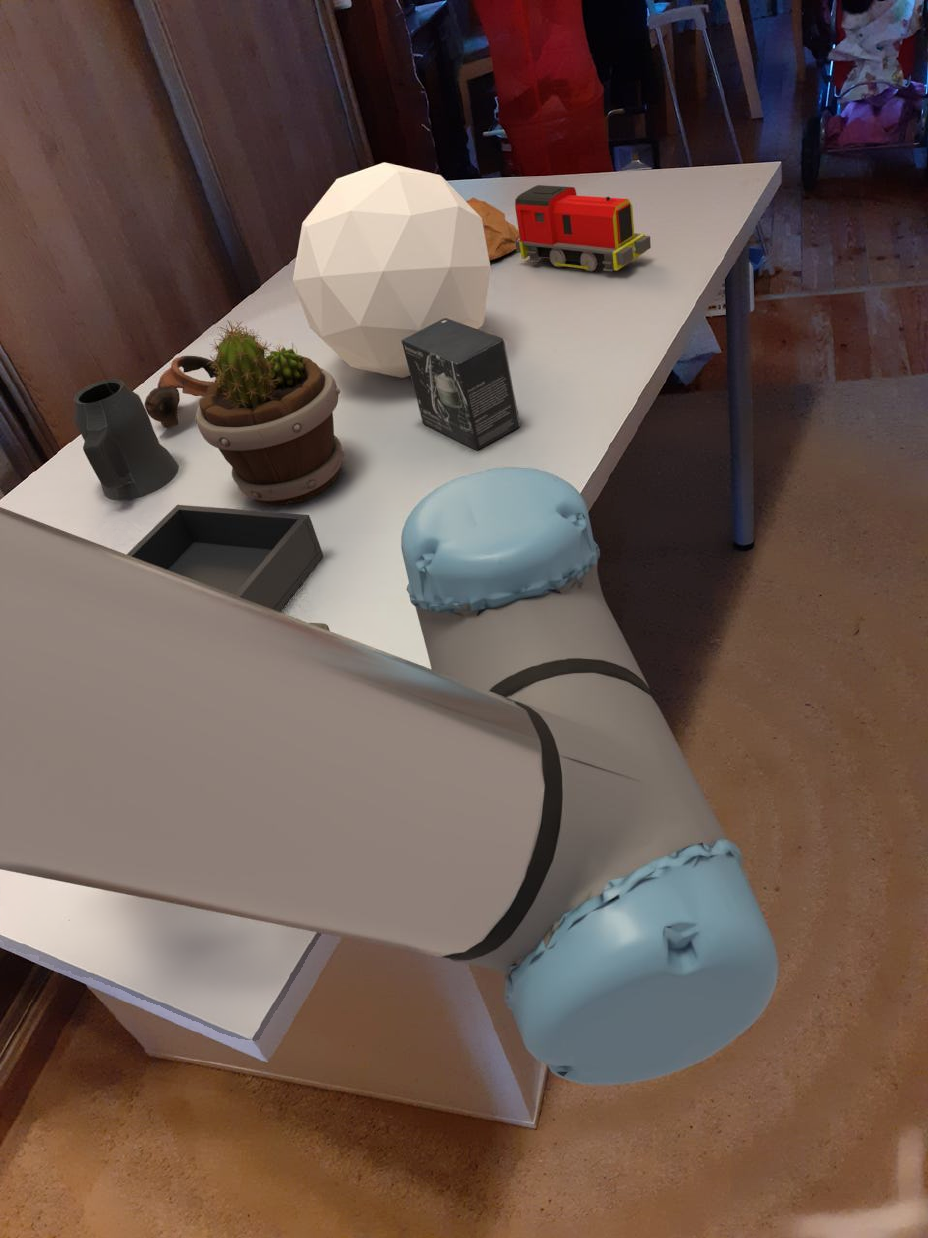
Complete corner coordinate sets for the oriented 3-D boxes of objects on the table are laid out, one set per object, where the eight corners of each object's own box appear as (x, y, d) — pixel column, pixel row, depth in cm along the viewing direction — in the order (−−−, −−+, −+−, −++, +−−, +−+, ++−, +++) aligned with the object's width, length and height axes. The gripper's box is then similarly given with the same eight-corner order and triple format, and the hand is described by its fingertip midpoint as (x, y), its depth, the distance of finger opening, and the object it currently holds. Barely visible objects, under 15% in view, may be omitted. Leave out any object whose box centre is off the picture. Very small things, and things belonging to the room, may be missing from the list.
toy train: (546, 249, 141) (537, 180, 134) (652, 261, 129) (648, 186, 123) (518, 266, 137) (507, 196, 131) (623, 280, 126) (618, 204, 119)
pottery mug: (183, 400, 124) (193, 344, 119) (239, 433, 123) (252, 378, 118) (120, 423, 114) (128, 363, 110) (180, 460, 113) (192, 401, 108)
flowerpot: (244, 456, 107) (178, 288, 94) (371, 438, 104) (320, 263, 92) (211, 528, 96) (131, 349, 83) (352, 510, 93) (292, 322, 81)
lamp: (291, 393, 104) (261, 154, 96) (339, 371, 137) (320, 191, 129) (496, 379, 102) (483, 136, 95) (495, 360, 136) (485, 178, 128)
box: (419, 425, 105) (398, 338, 98) (464, 401, 107) (446, 315, 101) (476, 453, 98) (457, 361, 91) (523, 426, 100) (507, 335, 93)
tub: (211, 700, 75) (189, 657, 72) (70, 674, 81) (44, 634, 78) (323, 555, 88) (309, 514, 85) (195, 543, 94) (177, 504, 91)
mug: (115, 464, 112) (73, 380, 105) (186, 452, 111) (148, 365, 104) (85, 519, 103) (36, 431, 96) (161, 506, 102) (118, 416, 94)
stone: (516, 244, 152) (529, 187, 144) (514, 299, 143) (529, 242, 135) (427, 228, 150) (436, 169, 142) (420, 282, 142) (429, 223, 134)
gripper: (287, 957, 44) (-41, 855, 53) (458, 652, 58) (177, 612, 67) (234, 865, 39) (-117, 770, 48) (434, 557, 53) (136, 529, 62)
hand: (55, 678), depth 57 cm, fingers closed on container, 9 cm apart
